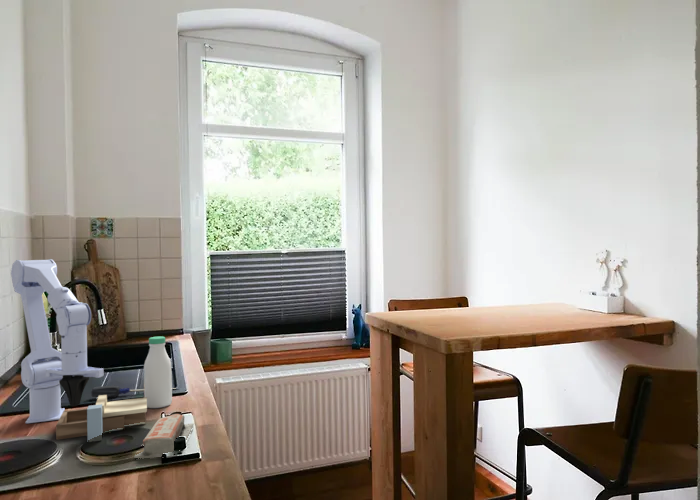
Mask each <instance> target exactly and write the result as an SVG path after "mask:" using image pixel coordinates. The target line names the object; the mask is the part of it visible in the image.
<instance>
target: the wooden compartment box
mask: <svg viewBox="0 0 700 500" xmlns="http://www.w3.org/2000/svg"><path fill="white" fill-rule="evenodd" d="M87 408H88V407H87ZM87 408H79V409H71V410H64V411H63V413H62V415H61V417H60V419H58V421H57V423H56V426H55V435H56V436H55V438H56V440H57V441H58V440H65V439H71V438H72V439H73V438H78V437H85V436H86V437H88V436H87ZM140 422H145V423H146V412H142V413H134V414H127V415H119V416H111V417H103V418H102V425H103V432H105V431H109V430H112V429H117V428H124V429H125V427H124V425H129V424H134V423H140Z"/></svg>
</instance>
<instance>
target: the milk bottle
mask: <svg viewBox="0 0 700 500" xmlns="http://www.w3.org/2000/svg"><path fill="white" fill-rule="evenodd" d="M165 345H166V337H165V336H163V335H162V336H153V337H152V336H151V337H149V338H148V346H149V349H148V353H147V356H146V358H145V360H144V363H143V364H144V365H143V389H144V391H143V398H145V397H147V409H161V408H165V407H168V406H170V405H171V404H172V402H173V390H172V388H173V383H172V379H173V378H172V377H173V376H172V375H173V374H172V362H171V358H170V357H169V355H168V353H167V350H166V347H165Z"/></svg>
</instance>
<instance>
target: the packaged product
mask: <svg viewBox="0 0 700 500" xmlns="http://www.w3.org/2000/svg"><path fill="white" fill-rule="evenodd" d="M194 424H195V423H186V424H185V415H184V414H180V413H173V414H172V415H167V416H164V417H160V418H159V419H157V421H155V423H154V424H153V426H152V428H151V429H150V430H149V432H148V433H147V434H146V436H145V437H144V439H143V440H142V445H143V446H144V451H143V452H141V453H139V454H137V455H136V454H135V455H134V457H133V458H138V459H137V460H145V459H144V458H150V459H155V458H154V457H161V456H162V454H163V453H168V452H173V451H174V441H175V439H176V438H177V437H179V436H186V440H187V438H188V436H189V434H190V432H191V429H192V428H193V429H194ZM179 451H180V450H179ZM139 458H140V459H139ZM141 458H142V459H141Z"/></svg>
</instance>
